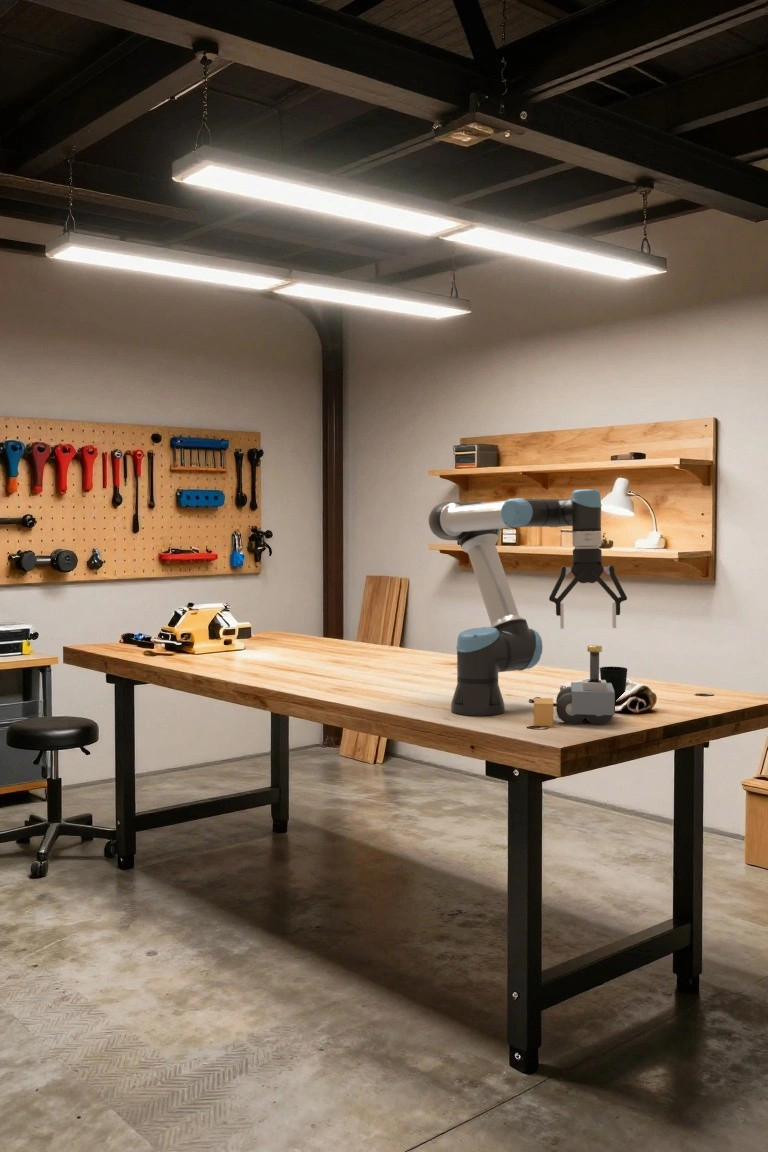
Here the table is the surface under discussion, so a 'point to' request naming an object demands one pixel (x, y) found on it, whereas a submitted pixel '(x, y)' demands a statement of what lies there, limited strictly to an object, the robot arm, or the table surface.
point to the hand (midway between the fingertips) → (588, 628)
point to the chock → (543, 711)
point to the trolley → (586, 702)
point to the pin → (594, 662)
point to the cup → (615, 678)
